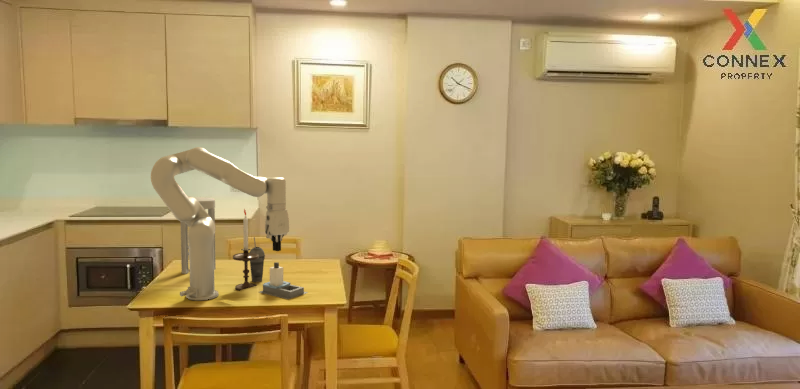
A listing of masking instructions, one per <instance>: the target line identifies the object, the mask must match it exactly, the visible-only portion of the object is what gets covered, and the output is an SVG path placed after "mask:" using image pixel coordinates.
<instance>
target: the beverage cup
mask: <svg viewBox="0 0 800 389" xmlns="http://www.w3.org/2000/svg"><path fill="white" fill-rule="evenodd" d="M253 242H254V243H253V244H254V247H253V248H250V249H251V250H249V251H248V253H256V254H259V258H258V259H255V260H250V261H249V266H250V276H251V282H252V283H259V282H262V281H263V275H264V263H265V257H266V255H265V250H264V249H263V248H262V247H260V246H257V245H256V237H255V236H254V237H253Z"/></svg>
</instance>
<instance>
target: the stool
mask: <svg viewBox="0 0 800 389" xmlns="http://www.w3.org/2000/svg"><path fill="white" fill-rule="evenodd" d="M192 197H193V198H195V199H196V200H197V201H198V202H199V203H200V204H201V205H202V207H203V208H204V209H205V210H207V213H208V215H209V216H210V217H211V218H212V220H213V221H214V223H215V224H216V221H215V220H216V219H215V218H216V216H215V215H216V214H215V212H216V211H215V208H216V199H215V198H214V197H207V196H196V197H195V196H192ZM179 222H180V259H181V260H180V261H181V262H180V266H181V274H184V275H187V274H190V267H189V243H188V231H189V227H188V225H187V224H186V223H185V222H181V221H179ZM213 245H214V271H215V270H216V268H217V267H216V232H215V233H214V235H213Z"/></svg>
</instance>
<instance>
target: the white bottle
mask: <svg viewBox="0 0 800 389" xmlns="http://www.w3.org/2000/svg"><path fill="white" fill-rule="evenodd" d="M283 281H284V267H283V266H280V262H274V263H273V266H271V267H269V282H270V285H273V286H279V285H283Z"/></svg>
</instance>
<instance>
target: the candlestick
mask: <svg viewBox="0 0 800 389" xmlns="http://www.w3.org/2000/svg"><path fill="white" fill-rule="evenodd" d="M243 213H244V218H243V222H242V223H243V226H242V227H243V228H242V230H243V248H242V249H241V251H242V252H241V253H235V254H233V255H232V259H233V260H235V261H238V262H239V261H240V262H244V264H243V266H244V269H243V270H242V273H243V279H244V282H243V283H239V284H236V285H235V288H234V289H235V290H236V291H244V290H246V289H250V288H253V287H257V286H258V285H257V284H256V283H254V282H252V283H251V282H249V278H250V276H249V273H250V270H249V269H248V268H249V266H248V265H249V264H248V262H250V260H255V259H258V258H259V254H256V253H249V251H250V250H251V249H252V248H249V218H248V217H247V212H246V209H245V208H244V209H243Z"/></svg>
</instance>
